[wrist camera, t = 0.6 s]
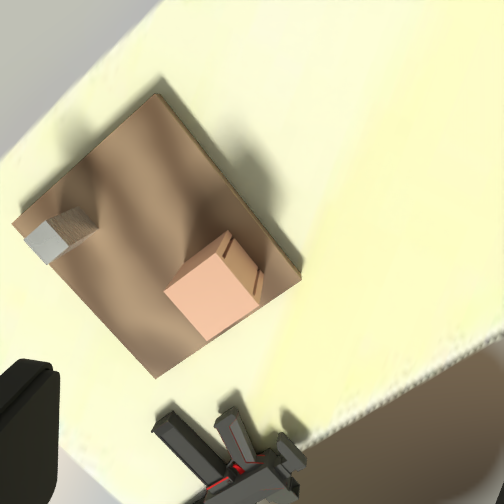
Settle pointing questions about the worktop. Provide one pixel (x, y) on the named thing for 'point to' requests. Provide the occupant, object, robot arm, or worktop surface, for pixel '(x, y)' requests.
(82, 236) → the post
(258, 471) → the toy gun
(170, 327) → the board
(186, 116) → the worktop surface
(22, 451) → the robot arm
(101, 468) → the worktop surface
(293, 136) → the worktop surface
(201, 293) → the salmon pink block
